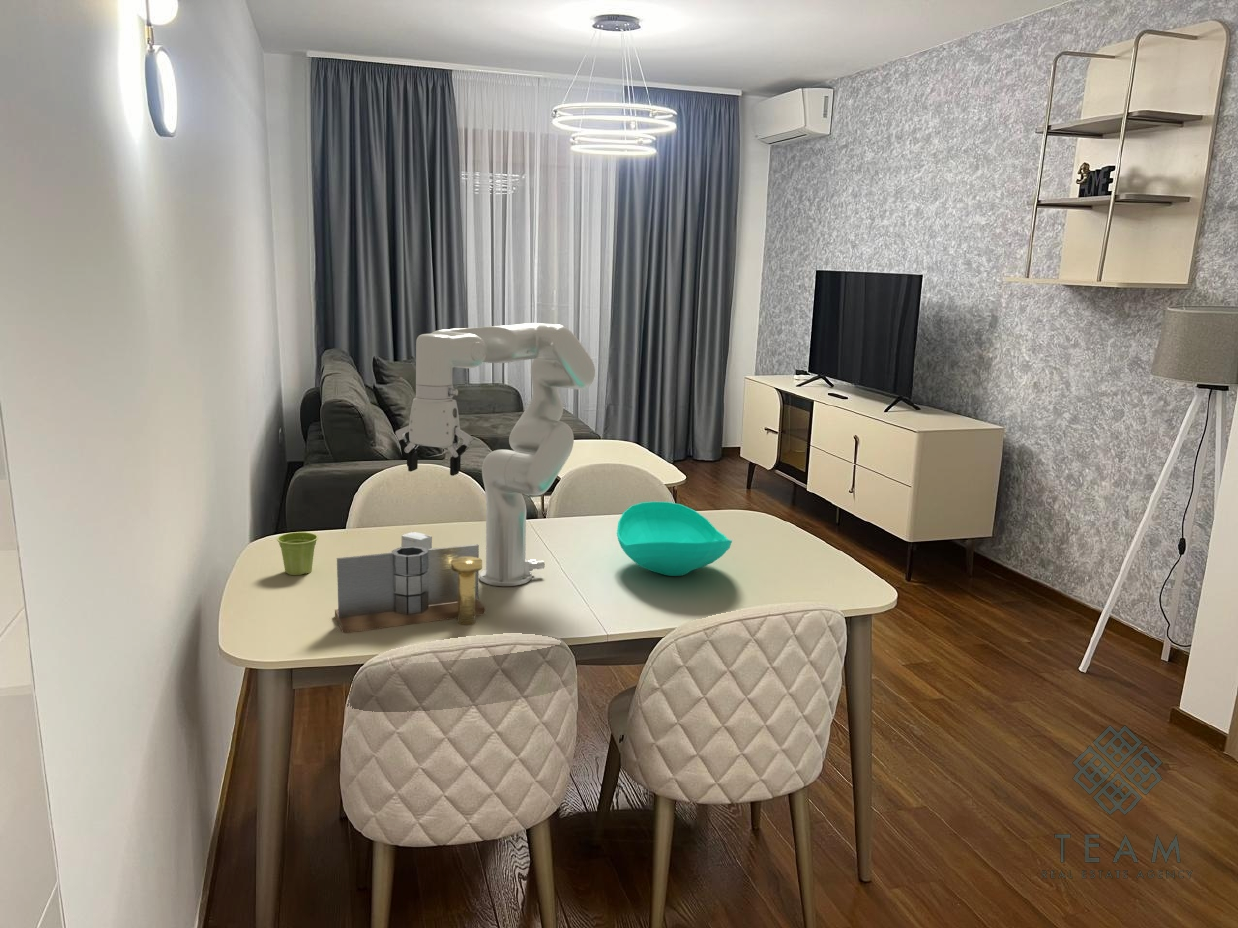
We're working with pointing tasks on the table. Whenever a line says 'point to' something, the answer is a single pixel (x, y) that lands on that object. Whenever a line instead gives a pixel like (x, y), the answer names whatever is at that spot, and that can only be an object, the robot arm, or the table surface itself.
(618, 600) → the table surface
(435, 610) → the base board
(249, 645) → the table surface
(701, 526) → the table top decor
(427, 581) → the swing leaf
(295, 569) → the plant pot
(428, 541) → the skincare box
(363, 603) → the hinge frame
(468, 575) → the hinge pin
